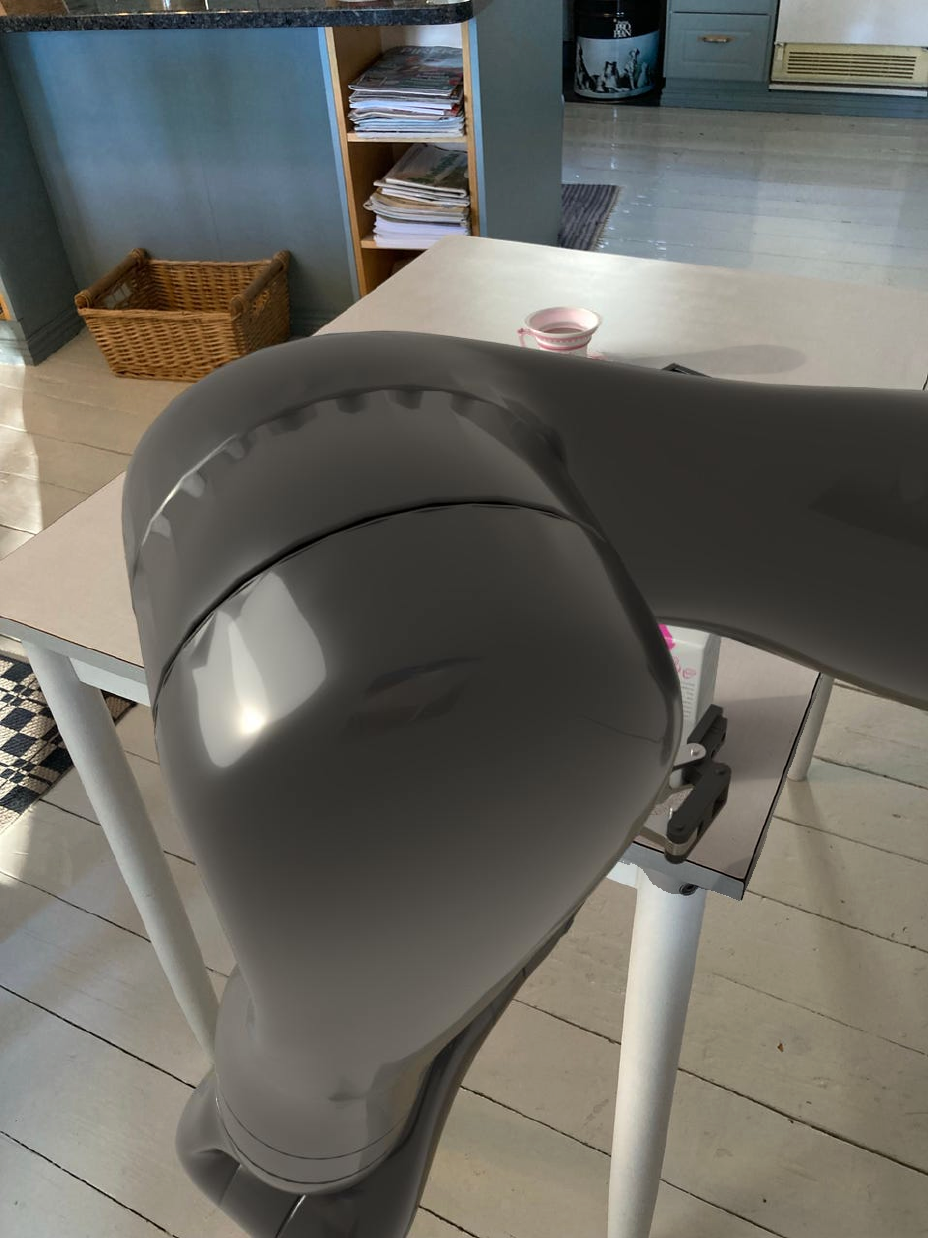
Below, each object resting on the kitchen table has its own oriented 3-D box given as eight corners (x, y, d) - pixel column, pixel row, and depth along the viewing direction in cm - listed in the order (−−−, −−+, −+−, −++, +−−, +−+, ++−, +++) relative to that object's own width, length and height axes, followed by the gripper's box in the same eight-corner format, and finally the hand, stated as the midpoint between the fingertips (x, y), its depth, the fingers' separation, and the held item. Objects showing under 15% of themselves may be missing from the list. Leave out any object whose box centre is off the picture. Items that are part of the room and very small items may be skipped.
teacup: (608, 348, 117) (610, 296, 113) (624, 394, 107) (626, 339, 103) (506, 354, 117) (504, 303, 113) (512, 401, 107) (511, 346, 104)
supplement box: (712, 725, 68) (730, 593, 61) (689, 786, 64) (706, 652, 57) (630, 704, 70) (639, 573, 63) (603, 761, 66) (609, 629, 59)
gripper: (642, 891, 46) (771, 686, 56) (397, 772, 53) (552, 607, 63) (634, 981, 51) (754, 776, 61) (410, 860, 57) (552, 694, 67)
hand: (651, 690), depth 62 cm, fingers open, 8 cm apart
